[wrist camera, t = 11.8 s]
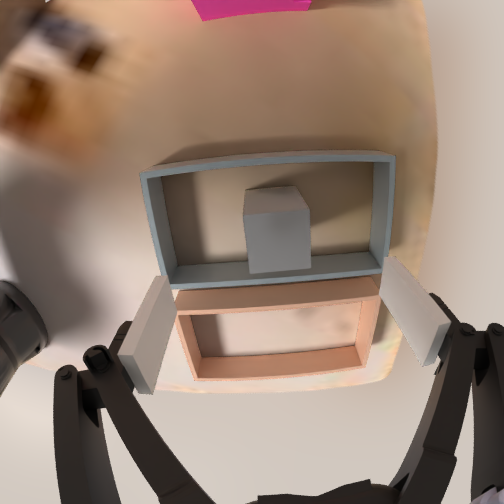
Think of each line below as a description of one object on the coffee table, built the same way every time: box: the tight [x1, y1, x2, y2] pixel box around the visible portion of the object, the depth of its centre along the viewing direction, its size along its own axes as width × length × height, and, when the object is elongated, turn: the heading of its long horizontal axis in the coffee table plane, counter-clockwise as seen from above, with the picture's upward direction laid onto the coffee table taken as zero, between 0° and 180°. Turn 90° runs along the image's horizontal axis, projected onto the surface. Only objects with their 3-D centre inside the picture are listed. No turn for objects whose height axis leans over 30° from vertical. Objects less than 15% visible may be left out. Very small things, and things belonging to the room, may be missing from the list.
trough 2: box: [175, 277, 381, 381], centre depth 34 cm, size 23×12×4 cm, turn 95°
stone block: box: [243, 186, 311, 274], centre depth 26 cm, size 5×5×8 cm
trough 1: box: [139, 150, 396, 289], centre depth 28 cm, size 23×12×4 cm, turn 95°
